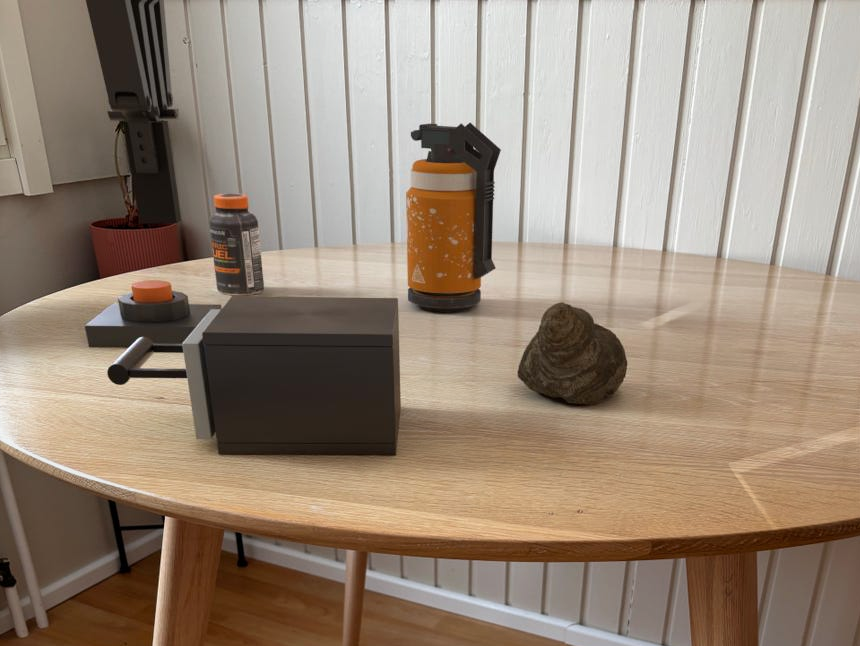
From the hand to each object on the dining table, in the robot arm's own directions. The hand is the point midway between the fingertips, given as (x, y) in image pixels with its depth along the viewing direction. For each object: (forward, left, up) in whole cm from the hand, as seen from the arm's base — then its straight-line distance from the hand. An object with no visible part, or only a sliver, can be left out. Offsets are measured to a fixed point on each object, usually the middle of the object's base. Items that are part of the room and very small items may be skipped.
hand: (160, 221), depth 69 cm
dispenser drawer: (+5, 0, -15) cm, 16 cm away
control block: (-10, +29, -16) cm, 34 cm away
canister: (+22, +44, -16) cm, 52 cm away
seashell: (+34, +11, -16) cm, 39 cm away
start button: (-10, +29, -12) cm, 33 cm away
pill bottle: (-5, +51, -16) cm, 54 cm away
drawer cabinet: (+10, 0, -16) cm, 19 cm away
